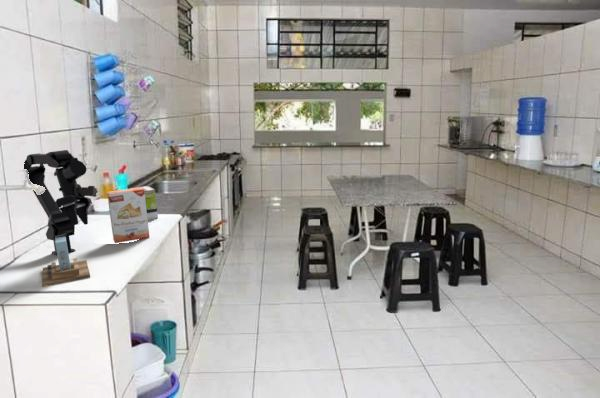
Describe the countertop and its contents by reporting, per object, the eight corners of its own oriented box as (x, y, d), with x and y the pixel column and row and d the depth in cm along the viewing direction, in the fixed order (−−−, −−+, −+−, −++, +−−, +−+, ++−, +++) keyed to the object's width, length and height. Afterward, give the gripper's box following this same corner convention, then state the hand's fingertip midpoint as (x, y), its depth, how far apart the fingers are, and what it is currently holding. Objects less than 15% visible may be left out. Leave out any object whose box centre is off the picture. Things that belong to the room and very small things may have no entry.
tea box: (159, 218, 235) (155, 188, 232) (138, 222, 230) (134, 191, 227) (151, 213, 248) (148, 185, 245) (131, 216, 243) (127, 187, 240)
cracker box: (115, 244, 195) (107, 193, 190) (113, 240, 200) (106, 191, 196) (150, 237, 201) (144, 188, 197) (147, 234, 206) (141, 186, 202)
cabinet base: (43, 270, 167) (41, 262, 166) (86, 262, 173) (85, 254, 172) (42, 286, 151) (40, 277, 150) (90, 277, 157) (88, 268, 156)
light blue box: (60, 268, 164) (55, 237, 162) (70, 266, 166) (65, 236, 163) (60, 275, 157) (55, 243, 155) (71, 273, 158) (66, 241, 156)
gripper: (80, 174, 166) (94, 217, 166) (98, 179, 185) (111, 217, 184) (48, 184, 165) (62, 227, 165) (70, 188, 184) (82, 226, 183)
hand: (81, 224), depth 174 cm, fingers open, 9 cm apart
